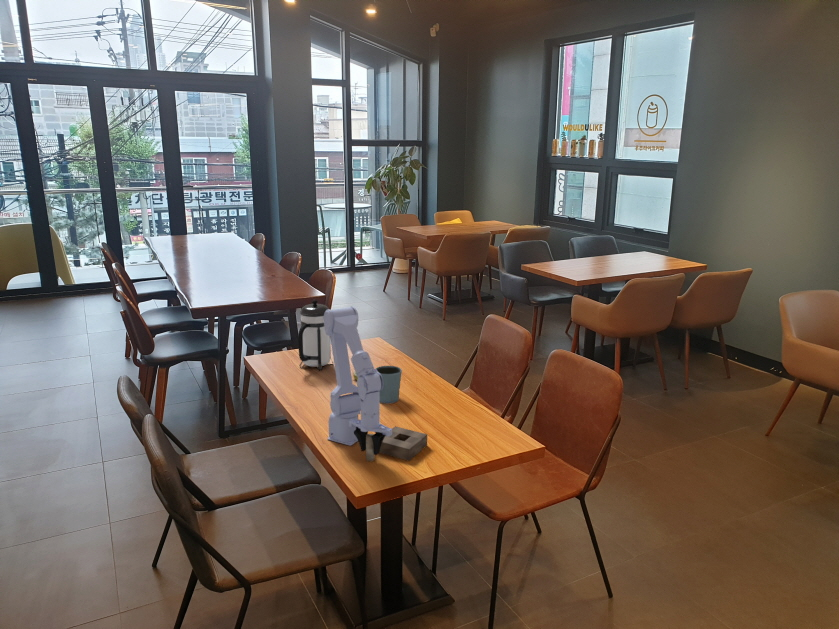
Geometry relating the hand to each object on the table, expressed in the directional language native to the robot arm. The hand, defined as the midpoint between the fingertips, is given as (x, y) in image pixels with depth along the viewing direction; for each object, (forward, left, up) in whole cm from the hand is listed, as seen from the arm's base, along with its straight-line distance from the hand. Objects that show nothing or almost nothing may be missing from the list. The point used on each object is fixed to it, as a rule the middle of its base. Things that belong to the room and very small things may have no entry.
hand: (370, 452), depth 195 cm
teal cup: (-20, +44, -3) cm, 48 cm away
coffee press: (-66, +59, -3) cm, 89 cm away
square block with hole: (+5, +11, -2) cm, 12 cm away
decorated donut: (-39, +58, -3) cm, 70 cm away
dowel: (0, 0, -2) cm, 2 cm away
